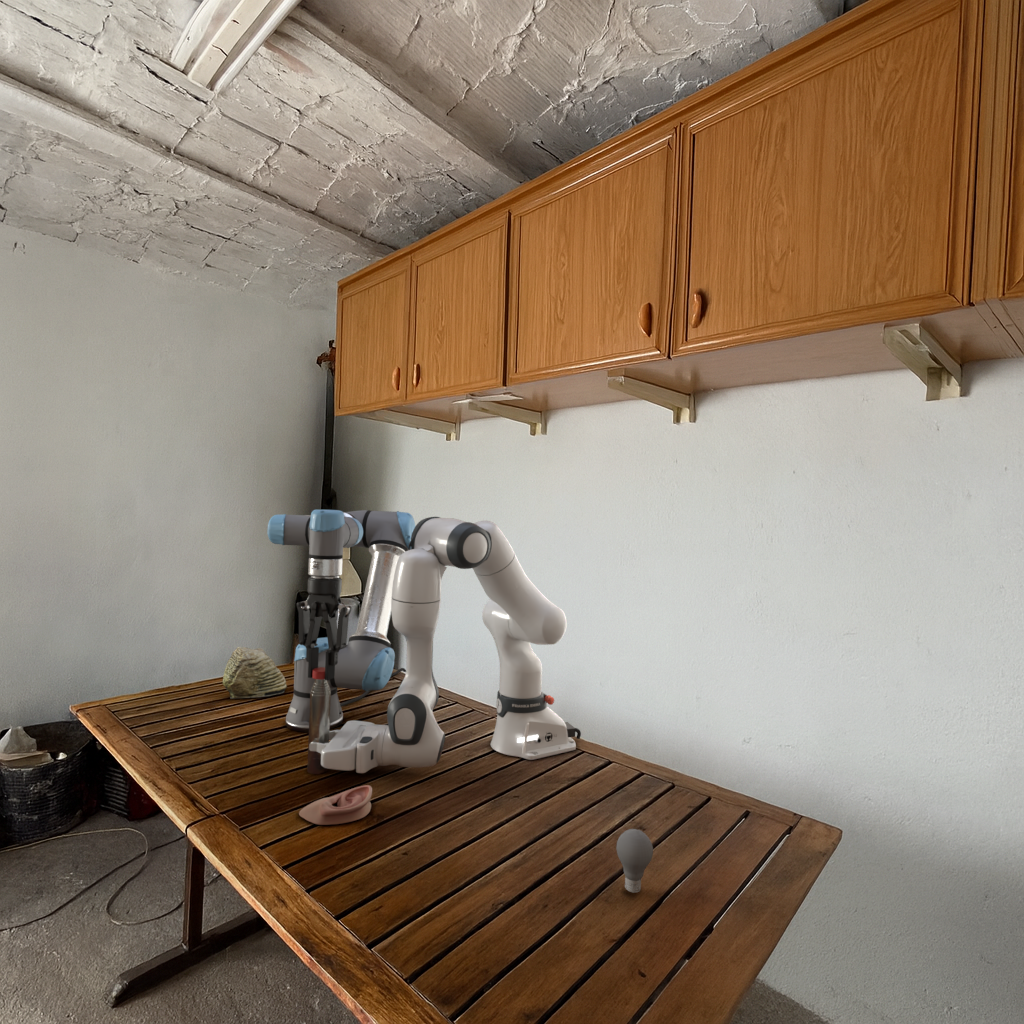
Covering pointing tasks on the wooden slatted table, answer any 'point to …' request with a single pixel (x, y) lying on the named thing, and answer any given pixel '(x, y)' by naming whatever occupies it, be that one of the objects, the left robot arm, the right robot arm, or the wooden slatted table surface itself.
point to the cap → (319, 673)
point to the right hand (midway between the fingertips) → (314, 740)
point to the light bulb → (634, 857)
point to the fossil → (252, 674)
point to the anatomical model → (339, 807)
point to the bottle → (318, 722)
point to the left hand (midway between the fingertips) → (321, 677)
